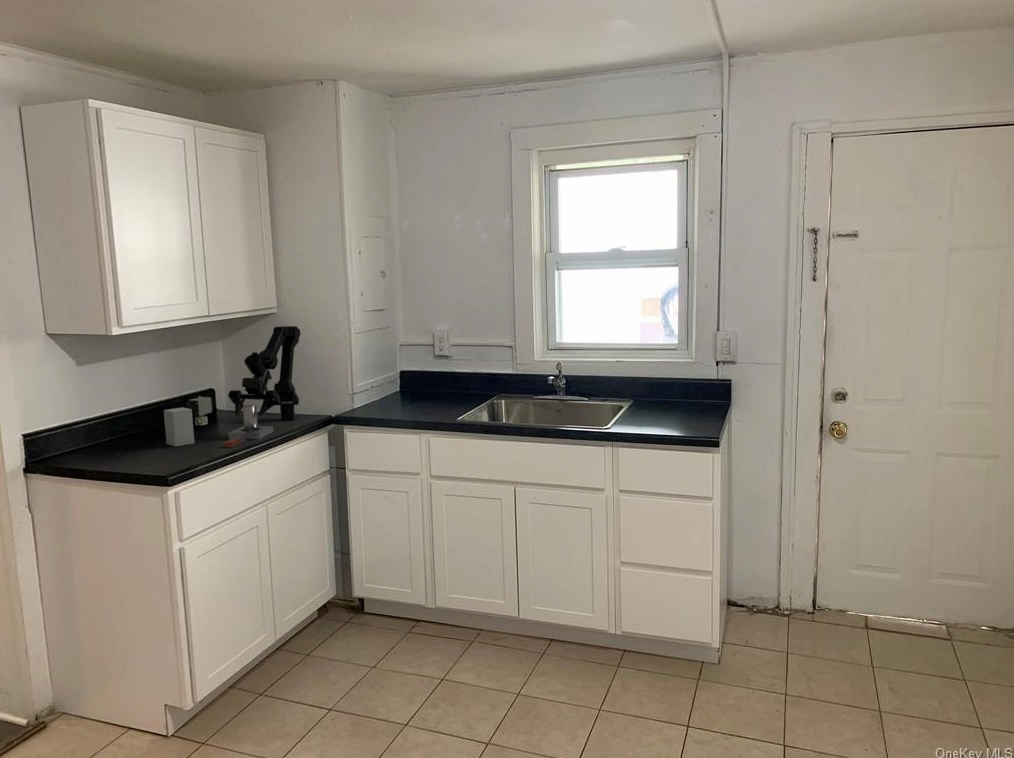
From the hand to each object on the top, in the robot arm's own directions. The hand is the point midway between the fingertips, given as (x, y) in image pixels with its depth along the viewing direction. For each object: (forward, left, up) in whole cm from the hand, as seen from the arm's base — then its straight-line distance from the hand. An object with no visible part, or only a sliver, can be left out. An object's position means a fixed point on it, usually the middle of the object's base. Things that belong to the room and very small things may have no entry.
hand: (248, 415), depth 292 cm
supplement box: (+12, -21, -8) cm, 25 cm away
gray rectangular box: (+5, 0, -8) cm, 10 cm away
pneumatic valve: (-22, -31, -8) cm, 39 cm away
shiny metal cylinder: (-2, 0, -8) cm, 8 cm away
